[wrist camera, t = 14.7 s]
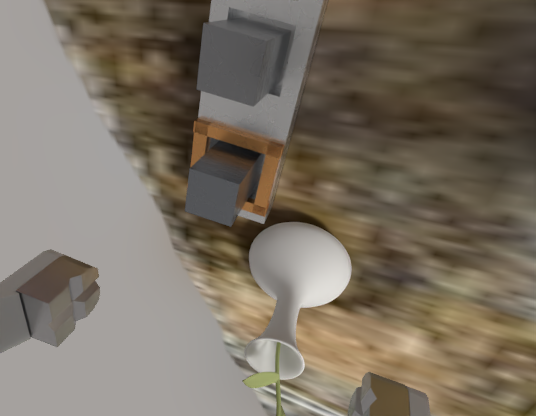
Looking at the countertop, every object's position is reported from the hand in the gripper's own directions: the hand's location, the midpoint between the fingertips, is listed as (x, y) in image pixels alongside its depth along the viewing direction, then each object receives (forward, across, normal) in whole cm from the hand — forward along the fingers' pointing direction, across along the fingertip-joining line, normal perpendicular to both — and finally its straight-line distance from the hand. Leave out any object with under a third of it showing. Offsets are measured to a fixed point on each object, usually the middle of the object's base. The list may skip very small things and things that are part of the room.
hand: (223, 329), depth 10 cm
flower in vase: (+26, +2, -18) cm, 31 cm away
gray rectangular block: (+24, -7, -6) cm, 25 cm away
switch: (+24, -7, +4) cm, 25 cm away
